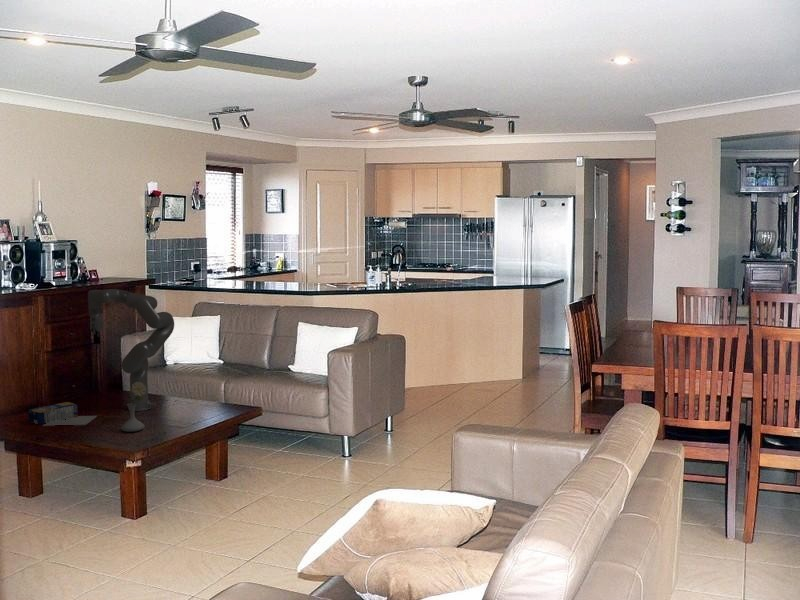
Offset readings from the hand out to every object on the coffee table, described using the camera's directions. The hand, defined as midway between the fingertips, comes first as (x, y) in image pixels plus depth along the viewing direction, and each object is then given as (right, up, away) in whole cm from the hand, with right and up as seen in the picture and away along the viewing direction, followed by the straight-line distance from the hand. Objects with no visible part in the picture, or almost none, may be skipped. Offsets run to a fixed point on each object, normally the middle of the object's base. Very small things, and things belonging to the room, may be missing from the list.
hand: (97, 343), depth 478 cm
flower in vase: (+37, -42, -50) cm, 75 cm away
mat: (-4, -40, -29) cm, 49 cm away
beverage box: (-7, -35, -17) cm, 40 cm away
